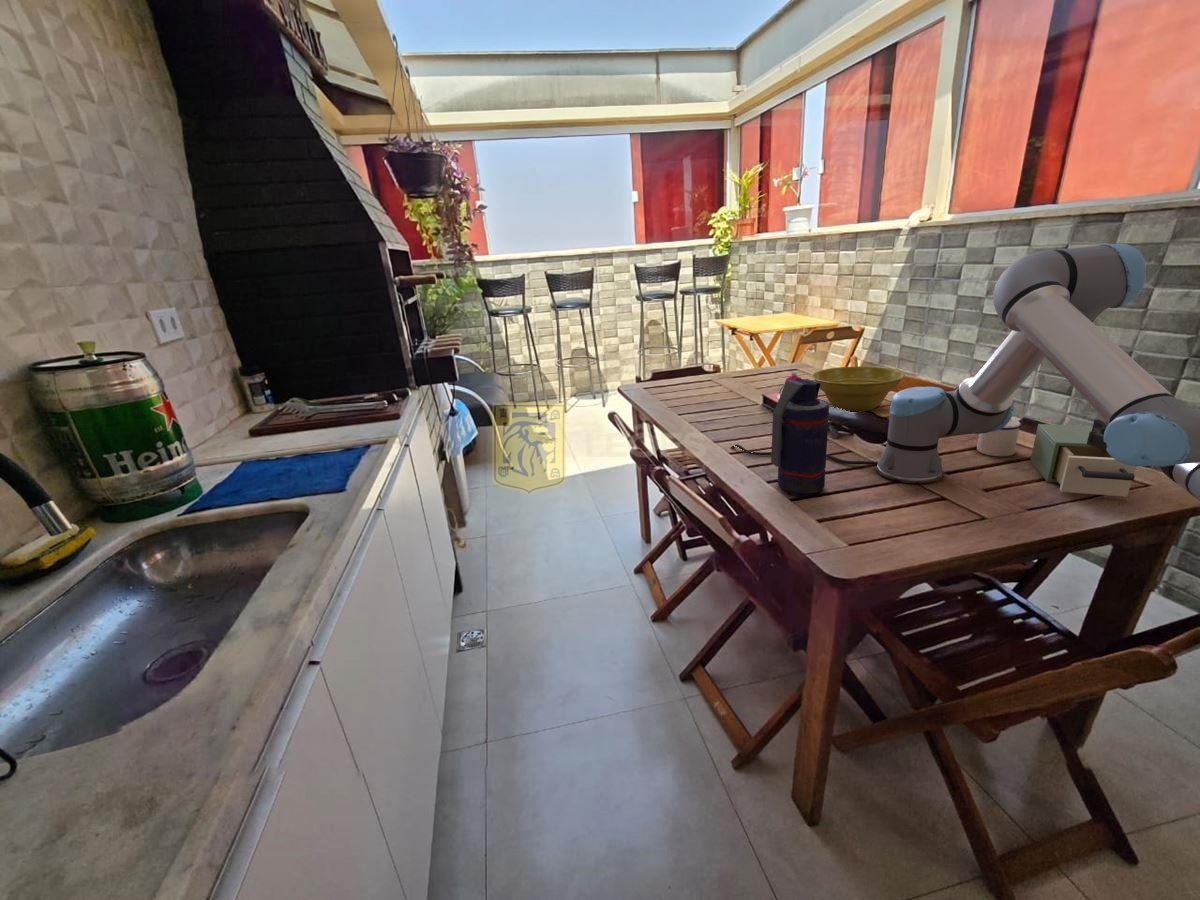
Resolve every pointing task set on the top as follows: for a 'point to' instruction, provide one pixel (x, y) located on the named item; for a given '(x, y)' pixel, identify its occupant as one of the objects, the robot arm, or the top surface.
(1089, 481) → the drawer
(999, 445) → the teacup with lid
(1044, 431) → the cabinet
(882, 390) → the planter bowl
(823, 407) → the grenade
